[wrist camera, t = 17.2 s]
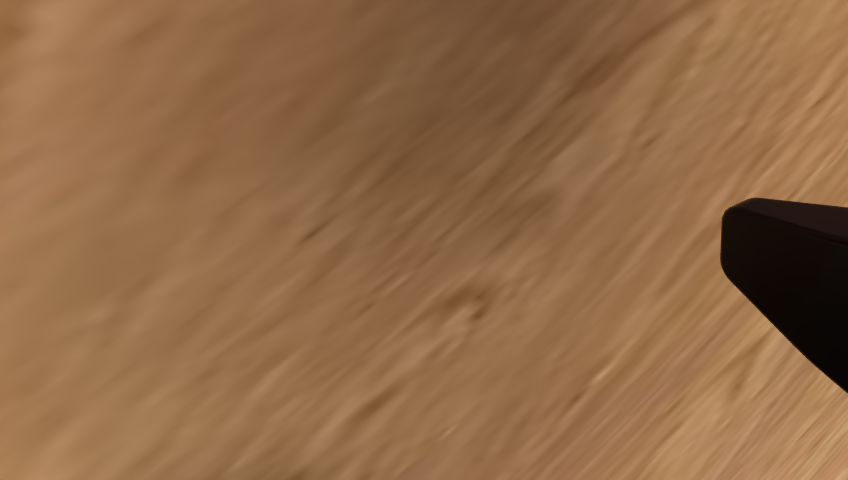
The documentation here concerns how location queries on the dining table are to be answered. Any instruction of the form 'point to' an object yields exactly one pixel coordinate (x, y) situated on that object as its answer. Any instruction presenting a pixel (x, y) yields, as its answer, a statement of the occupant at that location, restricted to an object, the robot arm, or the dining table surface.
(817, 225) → the robot arm
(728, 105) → the dining table surface
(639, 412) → the dining table surface
